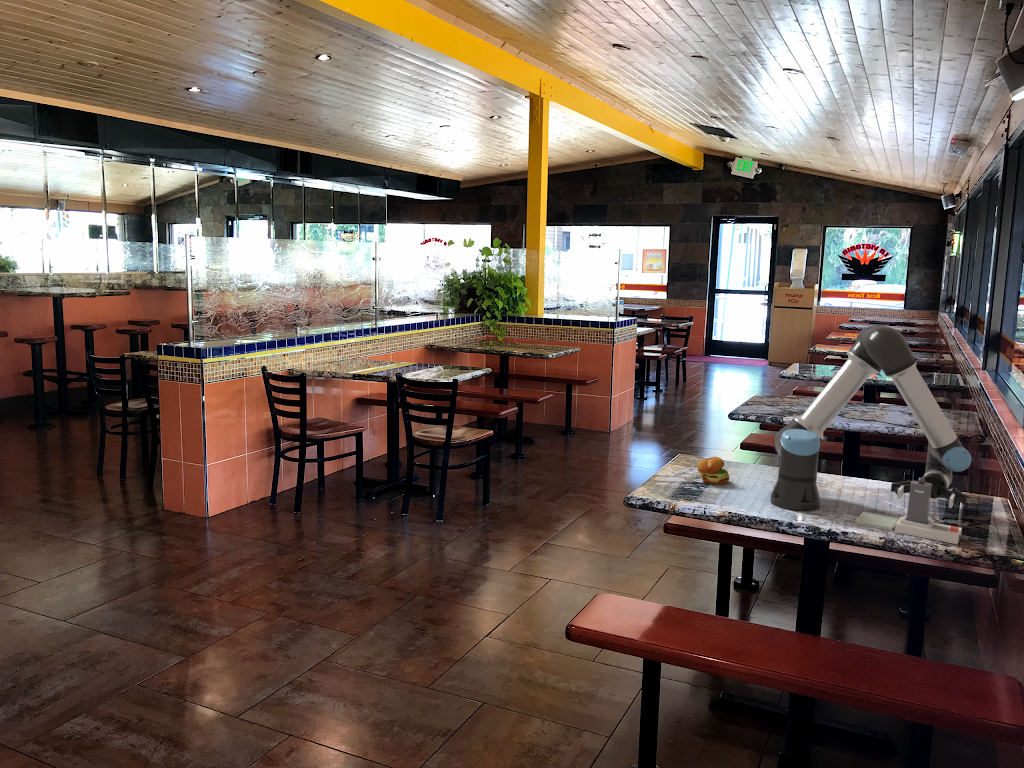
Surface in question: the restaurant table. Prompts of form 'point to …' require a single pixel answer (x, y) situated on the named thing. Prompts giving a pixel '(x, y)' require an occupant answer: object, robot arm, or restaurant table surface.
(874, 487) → the restaurant table surface
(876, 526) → the mat
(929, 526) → the power strip
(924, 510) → the block
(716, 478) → the cheeseburger
